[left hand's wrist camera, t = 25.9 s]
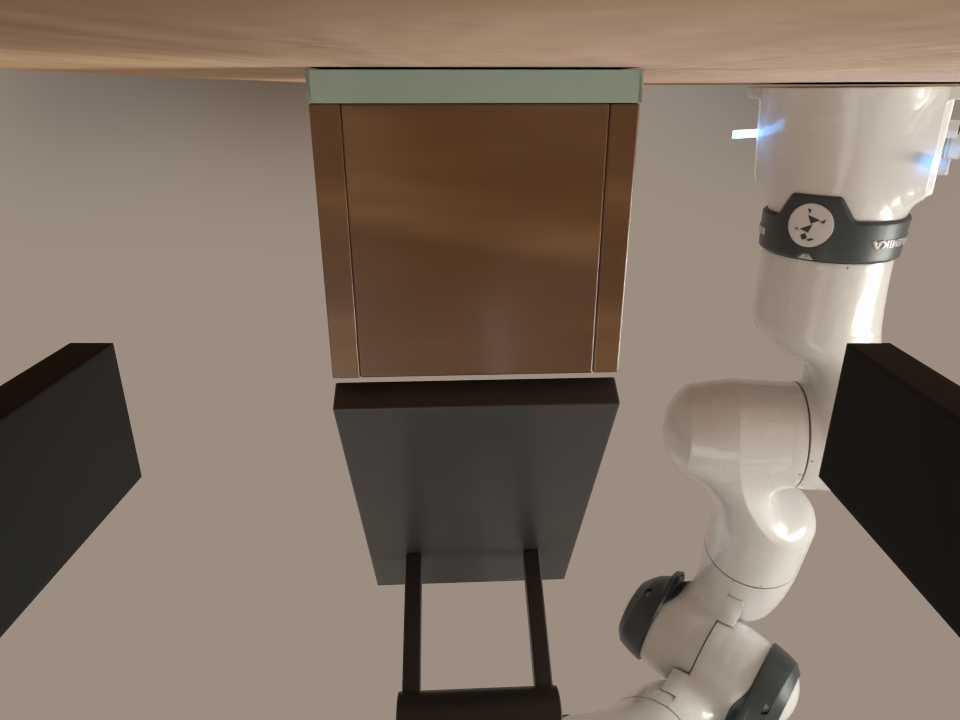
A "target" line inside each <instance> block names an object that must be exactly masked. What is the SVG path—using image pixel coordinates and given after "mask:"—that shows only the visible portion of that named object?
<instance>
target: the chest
mask: <svg viewBox="0 0 960 720" xmlns="http://www.w3.org/2000/svg"><path fill="white" fill-rule="evenodd" d="M305 77H306V89H307V100H308V103H311V104H309V114H310V126H311V137H312V148H313V159H314V170H315V182H316V193H317V204H318V215H319V227H320V238H321V249H322V260H323V272H324V283H325V294H326V306H327V317H328V328H329V339H330V351H331V362H332V373H333V378H358V377H360V376H361V377H397V376H445V375H497V374H547V373H590V372H592V371H593V372H617V371H618V369H619V356H620V344H621V332H622V319H623V307H624V295H625V283H626V271H627V258H628V246H629V234H630V221H631V209H632V197H633V185H634V172H635V160H636V148H637V135H638V123H639V111H640V105H639V104H638V103H641V101H642V89H643V77H644V70H431V69H305Z"/></svg>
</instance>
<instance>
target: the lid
mask: <svg viewBox="0 0 960 720" xmlns="http://www.w3.org/2000/svg"><path fill="white" fill-rule="evenodd" d="M619 404H620V402H619V397H618V392H617V388H616V383H615V379H614V378H613V377H607V378H558V379H509V380H460V381H410V382H361V383H337V384H336V388H335V397H334V405H333V410H334V415H335V419H336V423H337V427H338V430H339V434H340V438H341V442H342V446H343V450H344V454H345V458H346V462H347V466H348V470H349V474H350V478H351V481H352V485H353V489H354V493H355V497H356V501H357V505H358V509H359V513H360V517H361V521H362V525H363V529H364V532H365V536H366V540H367V544H368V548H369V552H370V556H371V560H372V564H373V568H374V572H375V576H376V580H377V583H378V585H397V584H405V607H404V644H403V682H402V691H400V692H399V693H398V697H397V709H396V720H562V709H561V701H560V696H559V691H558V688H557V686H556V685H553V684H552V674H551V665H550V655H549V645H548V635H547V625H546V616H545V606H544V596H543V587H542V580H546V579H564V577H565V574H566V571H567V568H568V564H569V561H570V558H571V555H572V552H573V549H574V546H575V542H576V539H577V536H578V533H579V530H580V527H581V524H582V520H583V517H584V514H585V511H586V508H587V505H588V501H589V498H590V495H591V492H592V489H593V485H594V482H595V479H596V476H597V473H598V470H599V467H600V464H601V461H602V457H603V454H604V451H605V448H606V445H607V442H608V439H609V435H610V432H611V429H612V426H613V423H614V420H615V416H616V413H617V410H618V407H619ZM517 580H525V589H526V601H527V613H528V624H529V636H530V647H531V659H532V671H533V682H534V686H523V687H499V688H475V689H449V690H425V691H421V612H422V611H421V610H422V584H427V583H457V582H487V581H517Z"/></svg>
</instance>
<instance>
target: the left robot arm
mask: <svg viewBox="0 0 960 720" xmlns="http://www.w3.org/2000/svg"><path fill="white" fill-rule="evenodd" d="M818 477H819V478H820V479H821V480H822V481H823V482H824V483H825V485H826V486H827V487H828V488H829V489H830V490H831V491H832V493H833V494H834V495H835V496H836V497H837V498H838V499H839V501H840V502H841V503H842V504H843V505H844V506H845V507H846V508H847V510H848V511H849V512H850V513H851V514H852V515H853V516H854V518H855V519H856V520H857V521H858V522H859V523H860V524H861V526H862V527H863V528H864V529H865V530H866V531H867V532H868V534H869V535H870V536H871V537H872V538H873V539H874V540H875V541H876V543H877V544H878V545H879V546H880V547H881V548H882V549H883V551H884V552H885V553H886V554H887V555H888V556H889V557H890V559H891V560H892V561H893V562H894V563H895V564H896V565H897V567H898V568H899V569H900V570H901V571H902V572H903V573H904V575H905V576H906V577H907V578H908V579H909V580H910V581H911V582H912V584H913V585H914V586H915V587H916V588H917V589H918V590H919V592H920V593H921V594H922V595H923V596H924V597H925V598H926V600H927V601H928V602H929V603H930V604H931V605H932V606H933V608H934V609H935V610H936V611H937V612H938V613H939V614H940V616H941V617H942V618H943V619H944V620H945V621H946V622H947V624H948V625H949V626H950V627H951V628H952V629H953V630H954V631H955V633H956V634H957V635H958V636H959V637H960V386H959V385H957V384H955V383H954V382H952V381H951V380H949V379H947V378H946V377H944V376H942V375H941V374H939V373H938V372H936V371H934V370H933V369H931V368H929V367H928V366H926V365H925V364H923V363H921V362H920V361H918V360H916V359H915V358H913V357H912V356H910V355H908V354H907V353H905V352H903V351H902V350H900V349H899V348H897V347H895V346H894V345H892V344H890V343H847V345H846V350H845V355H844V359H843V364H842V369H841V373H840V378H839V383H838V387H837V392H836V397H835V401H834V406H833V411H832V415H831V420H830V425H829V429H828V434H827V439H826V444H825V448H824V453H823V458H822V462H821V467H820V472H819V476H818ZM140 478H141V472H140V467H139V462H138V458H137V453H136V448H135V444H134V439H133V434H132V430H131V425H130V420H129V416H128V411H127V406H126V402H125V397H124V392H123V387H122V383H121V378H120V374H119V369H118V364H117V359H116V355H115V350H114V346H113V343H70V344H68V345H66V346H65V347H63V348H61V349H60V350H58V351H57V352H55V353H53V354H52V355H50V356H48V357H47V358H45V359H44V360H42V361H40V362H39V363H37V364H35V365H34V366H32V367H31V368H29V369H27V370H26V371H24V372H23V373H21V374H19V375H18V376H16V377H14V378H13V379H11V380H10V381H8V382H6V383H5V384H3V385H1V386H0V637H1V636H2V635H3V634H4V633H5V631H6V630H7V629H8V628H9V627H10V626H11V625H12V624H13V622H14V621H15V620H16V619H17V618H18V617H19V616H20V614H21V613H22V612H23V611H24V610H25V609H26V608H27V606H28V605H29V604H30V603H31V602H32V601H33V600H34V598H35V597H36V596H37V595H38V594H39V593H40V592H41V590H42V589H43V588H44V587H45V586H46V585H47V584H48V583H49V581H50V580H51V579H52V578H53V577H54V576H55V575H56V573H57V572H58V571H59V570H60V569H61V568H62V567H63V565H64V564H65V563H66V562H67V561H68V560H69V559H70V557H71V556H72V555H73V554H74V553H75V552H76V551H77V549H78V548H79V547H80V546H81V545H82V544H83V543H84V542H85V540H86V539H87V538H88V537H89V536H90V535H91V534H92V532H93V531H94V530H95V529H96V528H97V527H98V526H99V524H100V523H101V522H102V521H103V520H104V519H105V518H106V516H107V515H108V514H109V513H110V512H111V511H112V510H113V508H114V507H115V506H116V505H117V504H118V503H119V502H120V501H121V499H122V498H123V497H124V496H125V495H126V494H127V493H128V491H129V490H130V489H131V488H132V487H133V486H134V485H135V483H136V482H137V481H138V480H139V479H140Z"/></svg>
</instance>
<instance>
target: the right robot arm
mask: <svg viewBox="0 0 960 720" xmlns="http://www.w3.org/2000/svg"><path fill="white" fill-rule="evenodd" d="M747 97H748V98H759V99H760V102H759V115H758V127H757V129H752V130H734V131H733V135H732V138H748V137H757V140H756V154H755V168H754V177H755V179H756V180H757V182H758V183H759V185H760V186H761V187H762V189H763V190H764V193H765V195H766V199H767V202H768V205H767V206H766V207H765V208H763V213H762V220H761V222H760V226H759V231H760V237H759V244H760V245H761V246H762V247H763V248H762V255H761V261H760V268H759V274H758V280H757V287H756V293H755V300H754V306H753V317H754V321H755V324H756V327H757V329H758V331H759V332H760V333H761V335H762V336H763V337H764V338H765V339H766V340H767V341H768V342H770V343H771V344H772V345H774V346H775V347H777V348H778V349H780V350H782V351H783V352H785V353H787V354H789V355H791V356H793V357H795V358H797V359H799V360H801V361H802V362H804V371H803V375H802V378H801V379H800V380H799V381H792V382H787V381H768V380H750V379H732V378H728V379H720V380H711V381H704V382H698V383H691V384H686V385H684V386H683V387H682V388H680V389H679V390H678V391H677V392H676V394H675V395H674V396H673V397H672V399H671V400H670V402H669V404H668V406H667V408H666V410H665V414H664V417H663V424H662V434H663V441H664V445H665V448H666V450H667V452H668V455H669V456H670V458H671V460H672V461H673V463H674V464H675V465H676V467H677V468H678V469H679V470H680V471H681V472H683V473H684V474H686V475H688V476H690V477H692V478H693V479H695V480H696V481H697V482H699V483H700V484H701V485H702V486H703V487H704V488H705V489H706V490H707V491H708V493H709V494H710V496H711V500H712V504H711V512H710V517H709V522H708V526H707V530H706V534H705V538H704V543H703V549H702V556H701V562H700V566H699V569H698V572H697V574H696V576H695V577H694V579H693V580H692V581H684V578H685V573H684V572H681V571H677V572H676V573H674V574H673V575H672V576H659V577H656V578H652V579H650V580H648V581H645V582H644V583H643V584H641V586H640V587H639V588H638V589H636V590H635V591H634V592H633V593H632V594H631V595H630V597H629V598H628V600H627V601H626V603H625V605H624V608H623V611H622V615H621V621H620V625H619V635H620V640H621V642H622V643H623V644H624V645H625V647H626V648H627V649H628V650H629V651H630V652H631V653H632V654H633V655H634V656H635V657H636V658H637V659H643V660H644V661H645V662H646V663H647V664H648V665H649V666H650V667H652V668H653V669H654V670H655V671H656V672H658V673H659V674H660V675H661V676H663V677H664V678H665V679H666V680H657V681H653V682H650V683H646V684H644V685H642V686H640V687H638V688H635V689H634V690H632V691H631V692H629V693H627V694H626V695H625V696H623V697H622V698H621V699H620V700H618V701H617V702H616V703H615V704H614V705H613V706H611V707H609V708H606V709H603V710H600V711H596V712H591V713H584V714H576V715H562V720H787V719H788V718H789V716H790V715H791V714H792V712H793V710H794V709H795V706H796V704H797V701H798V697H799V690H800V683H799V676H800V670H799V667H798V664H797V662H796V661H795V660H794V659H793V658H792V657H791V656H790V655H789V654H788V653H787V652H786V651H785V650H783V649H782V648H781V647H780V646H779V645H777V644H776V643H774V644H771V643H770V642H769V641H768V640H766V639H765V638H764V637H762V636H761V635H760V634H758V633H757V632H756V631H754V630H753V629H751V628H750V627H749V626H747V625H746V624H744V623H743V622H741V620H742V621H754V620H758V619H761V618H763V617H765V616H766V615H768V614H769V613H770V612H771V611H772V610H773V609H774V608H775V607H776V606H777V605H778V604H779V603H780V601H781V600H782V599H783V598H784V596H785V595H786V593H787V592H788V590H789V589H790V587H791V585H792V584H793V582H794V580H795V578H796V576H797V574H798V572H799V569H800V567H801V564H802V562H803V560H804V558H805V555H806V553H807V551H808V549H809V546H810V544H811V542H812V539H813V537H814V534H815V530H816V518H815V513H814V510H813V507H812V505H811V503H810V501H809V500H808V498H807V497H806V496H805V495H804V493H803V492H802V491H801V490H800V489H812V490H825V491H831V490H830V489H829V488H828V487H827V486H826V485H825V483H824V482H823V481H822V480H821V479H820V478H819V477H818V476H819V472H820V467H821V462H822V458H823V453H824V448H825V444H826V439H827V434H828V429H829V425H830V420H831V415H832V411H833V406H834V401H835V397H836V392H837V387H838V383H839V378H840V373H841V369H842V364H843V359H844V355H845V350H846V345H847V343H882V340H881V333H882V323H883V316H884V309H885V303H886V297H887V291H888V286H889V281H890V276H891V272H892V267H893V263H894V259H896V258H898V257H899V256H900V255H901V251H902V248H903V245H904V244H905V243H906V240H907V237H908V229H909V226H910V223H911V219H912V216H911V214H910V213H909V212H910V210H911V208H912V207H913V206H914V205H915V204H917V203H918V202H919V201H921V200H923V199H925V198H926V196H928V195H931V194H932V192H933V188H934V184H935V180H936V175H947V174H948V172H949V168H950V164H951V159H958V158H960V120H950V117H951V113H952V109H953V105H954V100H960V86H790V87H747ZM941 157H943V158H941Z"/></svg>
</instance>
